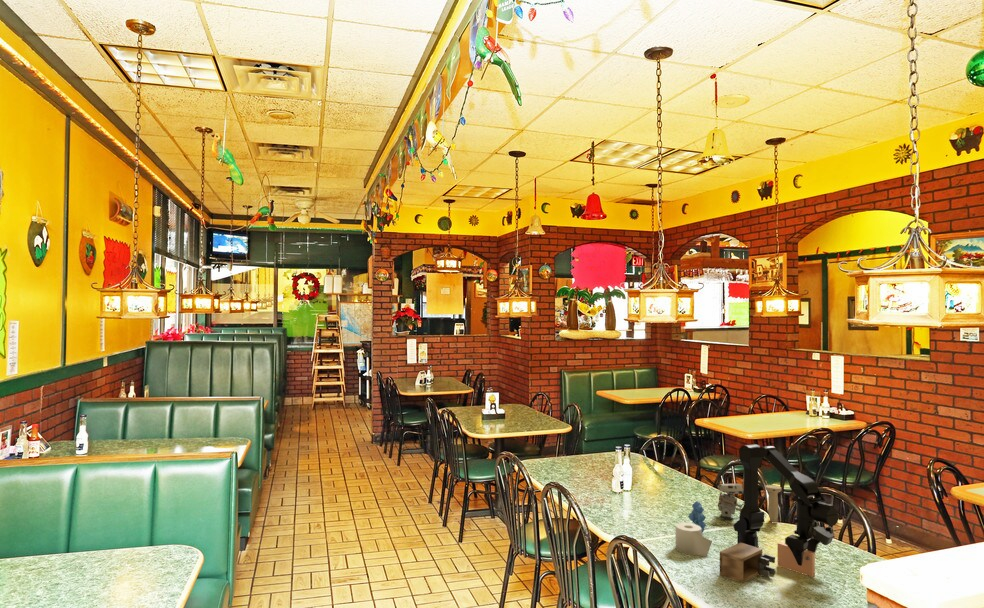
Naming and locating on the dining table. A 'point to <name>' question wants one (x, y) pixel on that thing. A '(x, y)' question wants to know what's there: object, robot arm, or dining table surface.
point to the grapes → (697, 515)
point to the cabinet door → (789, 561)
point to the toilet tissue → (691, 539)
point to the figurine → (729, 499)
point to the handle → (773, 502)
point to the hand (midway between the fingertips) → (805, 561)
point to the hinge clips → (765, 565)
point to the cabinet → (739, 562)
